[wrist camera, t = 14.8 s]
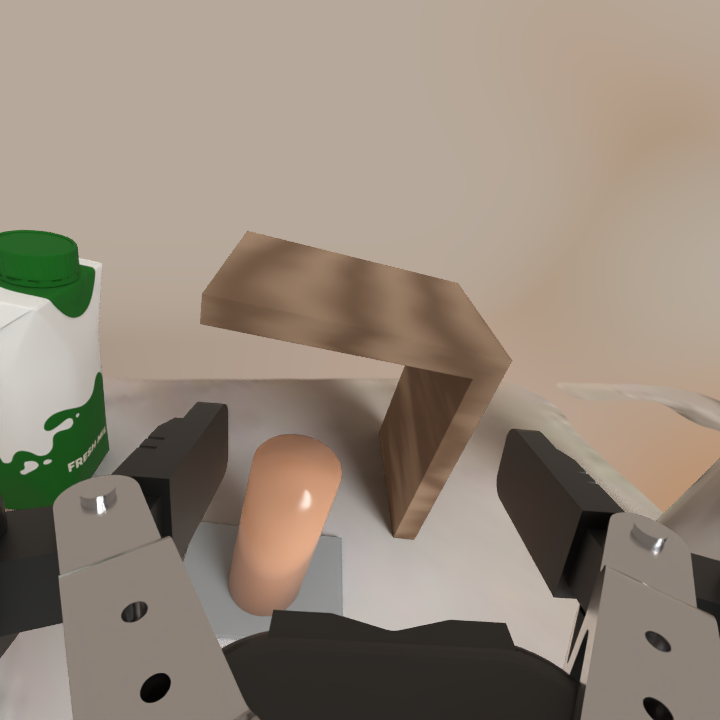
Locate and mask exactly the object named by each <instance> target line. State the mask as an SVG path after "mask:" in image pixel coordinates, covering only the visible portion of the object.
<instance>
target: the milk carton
mask: <svg viewBox="0 0 720 720" xmlns="http://www.w3.org/2000/svg"><path fill="white" fill-rule="evenodd" d="M101 280H102V264H101V263H99V262H95V261H91V260H87V259H82V258H79V256H78V247H77V244H76V243H75V242H74V241H73V240H72V239H70V238H68V237H65V236H62V235H59V234H55V233H51V232H44V231H34V230H16V231H7V232H2V233H0V495H1V496H2V498H3V503H4V508H6V509H15V510H22V509H30V508H38V507H45V506H52V505H53V504H54V502H55V500H56V499H57V497H58V496H59V495H60V494H61V493H62V492H64V491H65V490H66V489H68V488H69V487H71V486H73V485H75V484H77V483H79V482H81V481H84V480H87V479H90V478H91V477H92V475H93V474H94V472H95V471H96V469H97V467H98V466H99V464H100V463H101V461H102V460H103V458H104V457H105V455H106V454H107V452H108V451H109V443H108V434H107V426H106V417H105V405H104V392H103V380H102V367H101V354H100V343H99V309H100V294H101Z"/></svg>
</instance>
